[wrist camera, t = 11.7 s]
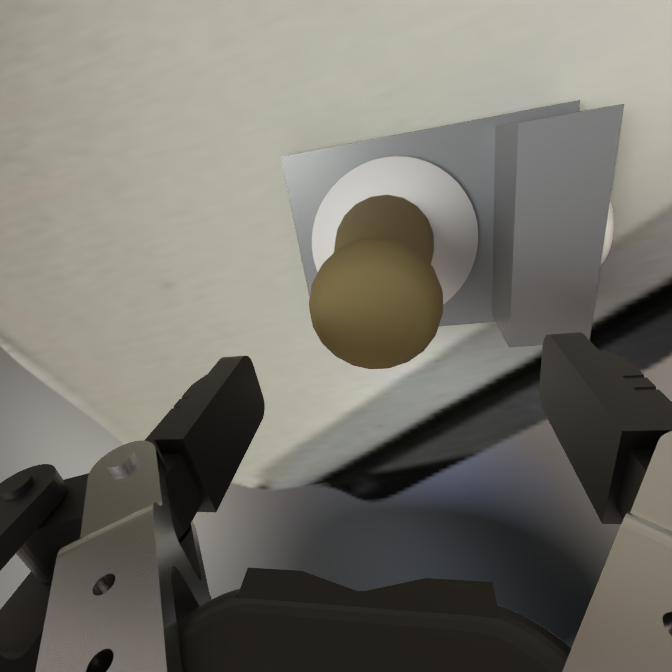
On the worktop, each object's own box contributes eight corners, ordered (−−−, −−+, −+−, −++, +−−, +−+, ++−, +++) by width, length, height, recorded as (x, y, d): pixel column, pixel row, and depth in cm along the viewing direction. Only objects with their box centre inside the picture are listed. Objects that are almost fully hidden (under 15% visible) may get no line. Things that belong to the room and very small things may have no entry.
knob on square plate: (572, 102, 21) (641, 86, 15) (553, 301, 26) (599, 349, 20) (290, 155, 24) (255, 160, 18) (323, 322, 29) (304, 368, 24)
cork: (442, 280, 23) (474, 378, 14) (350, 302, 25) (320, 404, 15) (422, 180, 21) (443, 213, 11) (321, 212, 22) (263, 265, 13)
